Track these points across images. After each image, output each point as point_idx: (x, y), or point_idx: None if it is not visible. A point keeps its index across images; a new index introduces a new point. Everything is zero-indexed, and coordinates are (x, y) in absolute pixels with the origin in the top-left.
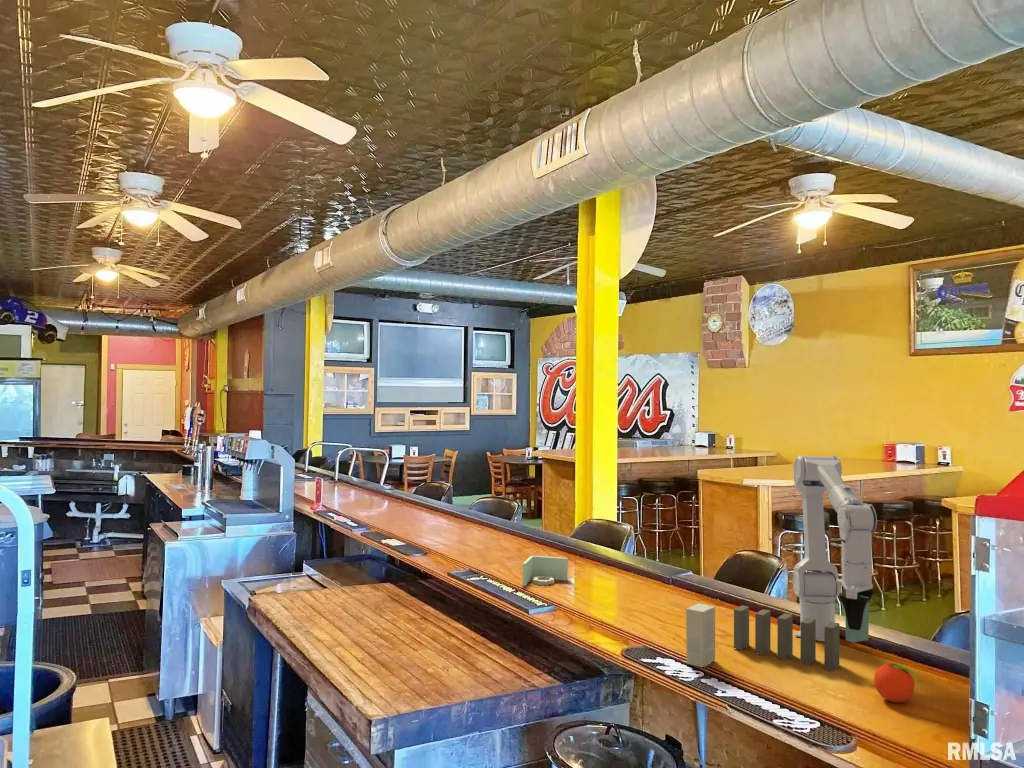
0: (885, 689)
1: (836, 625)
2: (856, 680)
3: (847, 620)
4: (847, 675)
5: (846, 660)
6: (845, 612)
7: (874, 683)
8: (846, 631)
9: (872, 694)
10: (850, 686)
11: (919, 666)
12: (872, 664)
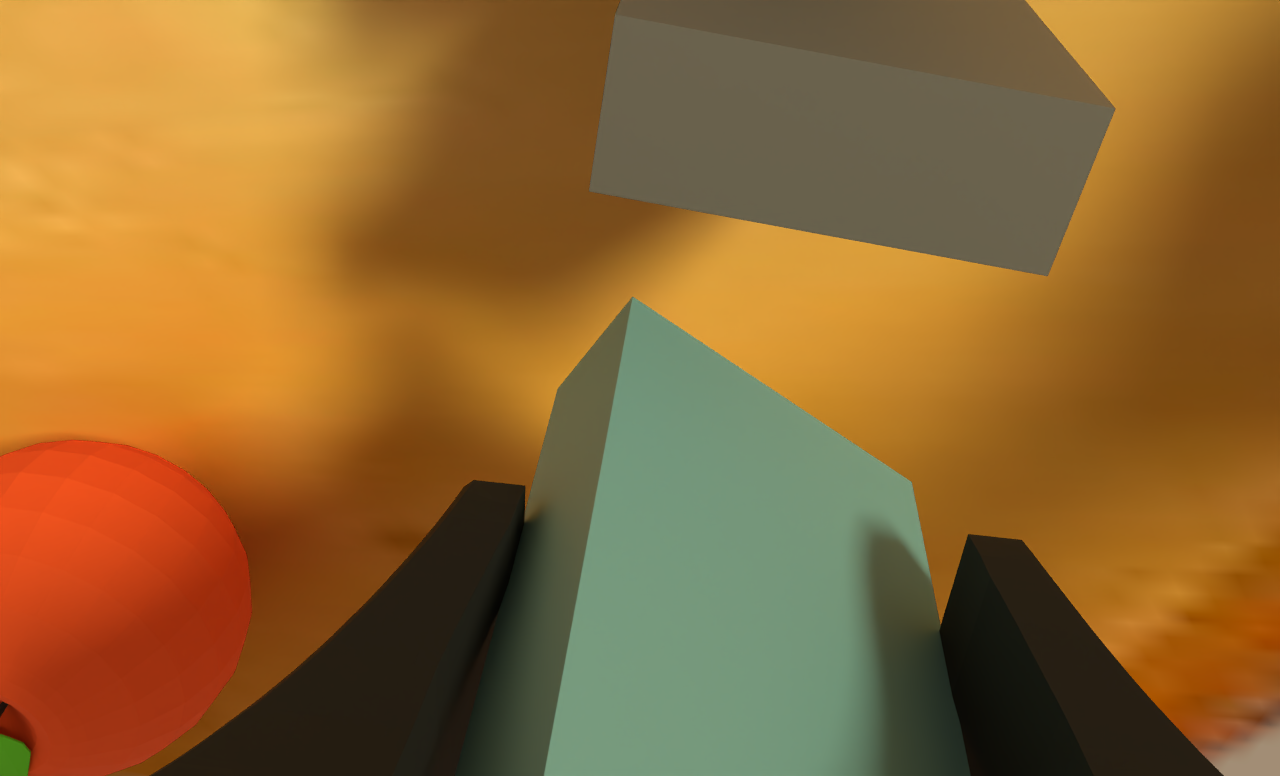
0: None
1: (835, 234)
2: (471, 234)
3: (412, 557)
4: (578, 145)
5: (1149, 105)
6: (315, 656)
7: (33, 455)
8: (604, 387)
9: (180, 366)
10: (250, 188)
11: (1184, 693)
12: (1095, 362)
